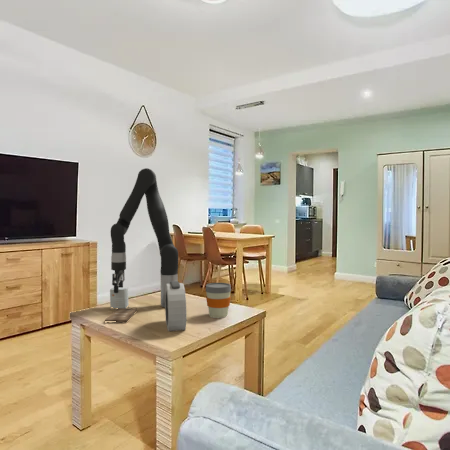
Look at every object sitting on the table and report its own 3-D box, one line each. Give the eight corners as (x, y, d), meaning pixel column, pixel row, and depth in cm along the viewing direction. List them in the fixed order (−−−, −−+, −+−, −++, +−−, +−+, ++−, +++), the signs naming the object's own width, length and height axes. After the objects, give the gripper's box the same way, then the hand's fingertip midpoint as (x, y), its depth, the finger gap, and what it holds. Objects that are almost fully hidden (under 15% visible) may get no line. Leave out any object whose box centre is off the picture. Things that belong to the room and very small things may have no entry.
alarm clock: (165, 319, 169) (164, 278, 168) (181, 318, 170) (180, 277, 170) (168, 334, 148) (168, 287, 147) (186, 332, 150) (186, 286, 149)
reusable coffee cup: (228, 319, 168) (228, 288, 167) (202, 318, 170) (202, 287, 170) (233, 312, 180) (233, 282, 180) (209, 311, 183) (209, 282, 182)
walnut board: (137, 311, 183) (137, 308, 183) (126, 322, 164) (126, 319, 164) (117, 311, 183) (117, 308, 183) (104, 323, 164) (104, 319, 164)
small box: (128, 306, 192) (128, 287, 192) (124, 309, 187) (124, 289, 187) (114, 306, 193) (114, 287, 193) (110, 309, 188) (109, 289, 187)
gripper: (122, 262, 182) (121, 294, 182) (129, 259, 196) (129, 288, 197) (107, 262, 182) (107, 294, 182) (115, 259, 196) (115, 288, 197)
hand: (118, 291), depth 190 cm, fingers open, 8 cm apart
